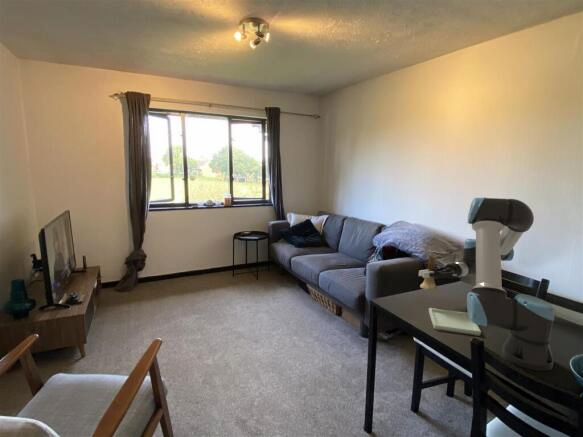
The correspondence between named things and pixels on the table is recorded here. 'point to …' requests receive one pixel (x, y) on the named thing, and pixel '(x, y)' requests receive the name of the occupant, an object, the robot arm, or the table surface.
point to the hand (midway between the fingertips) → (421, 274)
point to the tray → (453, 321)
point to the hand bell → (429, 278)
